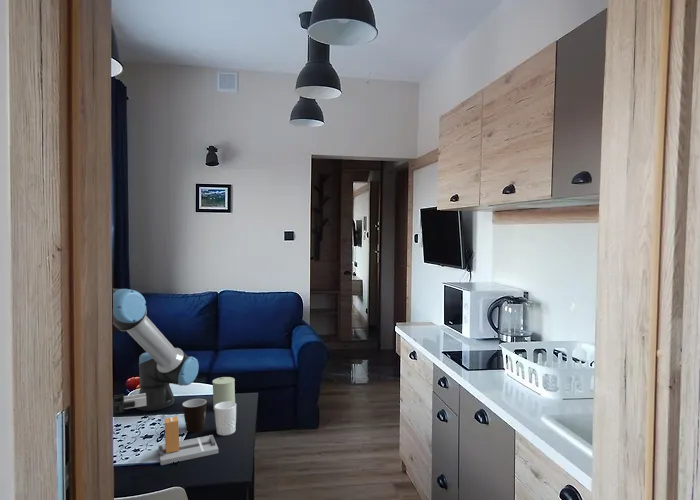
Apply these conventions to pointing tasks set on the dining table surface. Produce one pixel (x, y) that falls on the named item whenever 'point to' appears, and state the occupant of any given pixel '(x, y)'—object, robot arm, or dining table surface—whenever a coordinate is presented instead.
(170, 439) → the fader tab
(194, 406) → the coffee mug
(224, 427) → the white cup
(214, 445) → the rail
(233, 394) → the can
